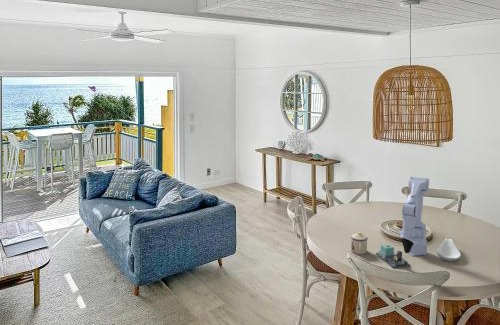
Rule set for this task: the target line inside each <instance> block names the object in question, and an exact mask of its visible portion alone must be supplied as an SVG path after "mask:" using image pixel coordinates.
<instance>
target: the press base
mask: <svg viewBox="0 0 500 325" xmlns="http://www.w3.org/2000/svg"><path fill="white" fill-rule="evenodd" d="M375 255H376V256H377V257H378V258H380V259H381V260H382V261H383V262H384V263H386V264H387V265H389V267H391V268H392V269H395V268H404V267H405V268H406V267H411V264H410V263H409V262H408V261H407V260H406V259H404V258H403V257H402V259H403V260H404V261H405V264H402V265H397V263H396V262H395V261H394V259H393V257H395V256H397V253H395V252H394V254H391V255H384V254H383V253H382V252H381V250H378V251H377V252H376V253H375Z"/></svg>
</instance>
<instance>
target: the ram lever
mask: <svg viewBox="0 0 500 325" xmlns="http://www.w3.org/2000/svg"><path fill="white" fill-rule="evenodd" d="M396 254H397V256H395V257H393V259H394V261H395V262H396V263H397V265H402V264H405V261H404V260H405V259H404V258H403V252H402V251H401V250H397V251H396ZM402 258H403V259H404V260H403V259H402Z"/></svg>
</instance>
